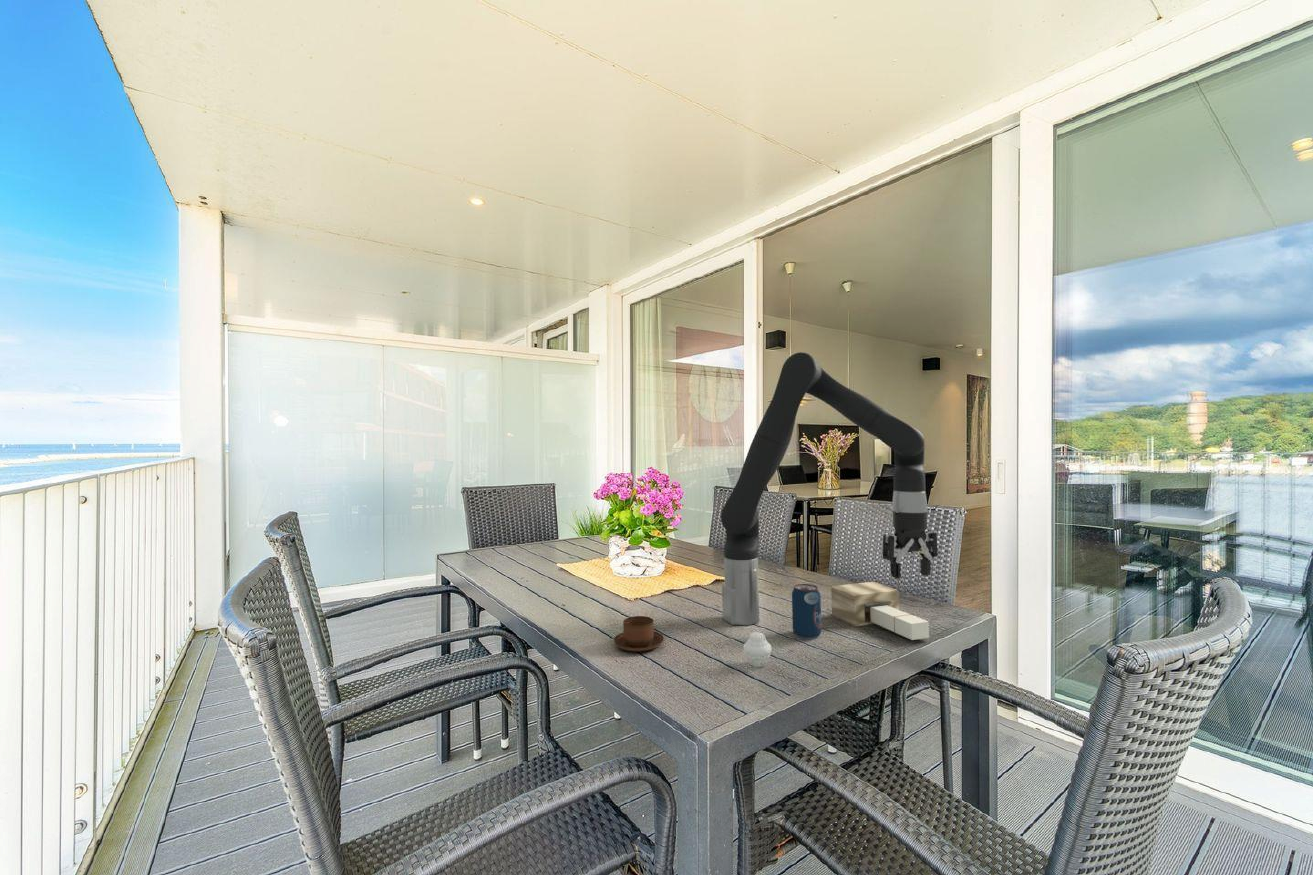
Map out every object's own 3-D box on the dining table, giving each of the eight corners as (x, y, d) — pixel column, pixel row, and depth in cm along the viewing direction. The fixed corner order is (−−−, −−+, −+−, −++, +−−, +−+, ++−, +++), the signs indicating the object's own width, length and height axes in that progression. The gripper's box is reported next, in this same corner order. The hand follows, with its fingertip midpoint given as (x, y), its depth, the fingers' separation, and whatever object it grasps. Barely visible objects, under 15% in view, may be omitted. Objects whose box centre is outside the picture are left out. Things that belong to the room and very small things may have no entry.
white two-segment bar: (912, 640, 125) (911, 623, 125) (870, 621, 139) (870, 606, 139) (929, 637, 127) (928, 621, 127) (886, 619, 141) (886, 604, 141)
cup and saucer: (607, 642, 131) (607, 617, 131) (652, 634, 136) (651, 610, 136) (623, 659, 120) (623, 632, 120) (671, 650, 125) (671, 624, 125)
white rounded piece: (753, 672, 112) (753, 638, 112) (738, 661, 117) (737, 629, 117) (778, 666, 114) (777, 634, 114) (761, 656, 120) (760, 625, 120)
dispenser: (857, 627, 137) (856, 596, 138) (831, 615, 148) (831, 586, 148) (901, 621, 141) (900, 590, 142) (873, 609, 152) (873, 581, 152)
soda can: (823, 640, 129) (821, 590, 129) (793, 639, 130) (792, 589, 130) (820, 630, 136) (818, 583, 136) (792, 629, 137) (790, 582, 137)
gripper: (921, 506, 134) (922, 570, 134) (874, 509, 130) (875, 575, 130) (945, 510, 127) (946, 577, 127) (896, 512, 123) (897, 582, 123)
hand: (910, 576), depth 129 cm, fingers open, 8 cm apart
